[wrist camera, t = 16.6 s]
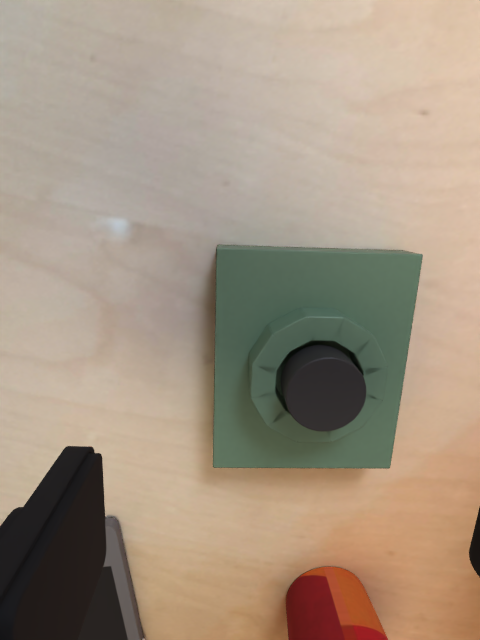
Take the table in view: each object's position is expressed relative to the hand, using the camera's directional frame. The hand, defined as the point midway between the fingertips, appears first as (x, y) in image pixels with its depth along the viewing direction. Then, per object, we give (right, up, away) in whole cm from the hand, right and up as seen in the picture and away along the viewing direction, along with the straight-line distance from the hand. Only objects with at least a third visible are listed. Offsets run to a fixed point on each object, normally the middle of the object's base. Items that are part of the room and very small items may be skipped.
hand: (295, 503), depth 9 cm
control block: (+2, +2, +13) cm, 13 cm away
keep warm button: (+2, +1, +9) cm, 10 cm away
